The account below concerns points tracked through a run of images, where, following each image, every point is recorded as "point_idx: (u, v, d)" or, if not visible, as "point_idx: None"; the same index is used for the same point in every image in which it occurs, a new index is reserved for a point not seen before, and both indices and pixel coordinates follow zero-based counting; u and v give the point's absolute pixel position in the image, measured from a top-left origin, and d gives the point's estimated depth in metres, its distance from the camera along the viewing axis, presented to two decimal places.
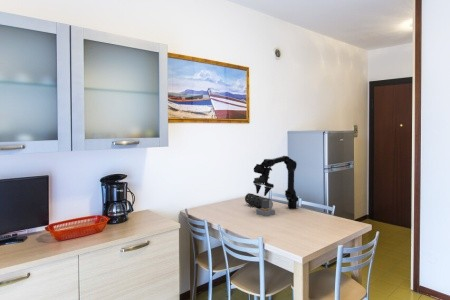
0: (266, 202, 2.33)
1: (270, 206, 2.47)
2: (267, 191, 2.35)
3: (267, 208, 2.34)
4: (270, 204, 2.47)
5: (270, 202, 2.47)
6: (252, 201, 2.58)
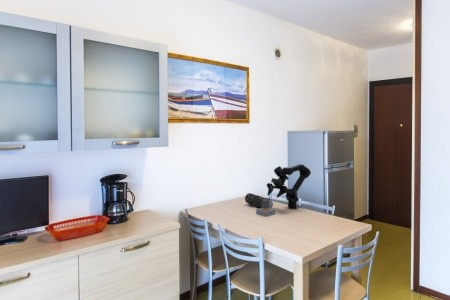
0: (266, 202, 2.33)
1: (270, 206, 2.47)
2: (280, 194, 2.38)
3: (267, 208, 2.34)
4: (270, 204, 2.47)
5: (270, 202, 2.47)
6: (252, 201, 2.59)
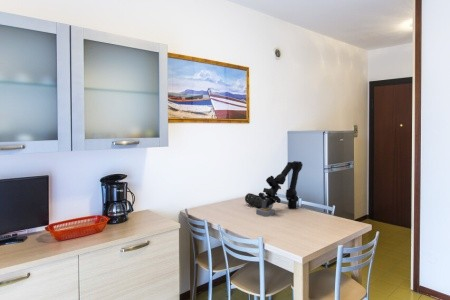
0: (266, 202, 2.33)
1: (270, 206, 2.47)
2: (270, 204, 2.34)
3: (267, 208, 2.34)
4: None
5: None
6: (252, 201, 2.59)
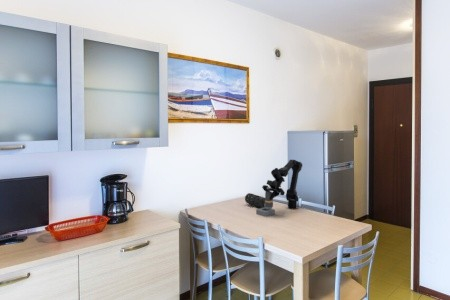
0: (270, 194, 2.30)
1: None
2: (274, 196, 2.31)
3: (271, 200, 2.31)
4: None
5: None
6: (252, 201, 2.59)
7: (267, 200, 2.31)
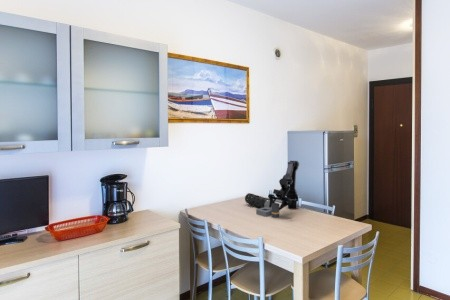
0: (276, 206, 2.26)
1: None
2: (283, 206, 2.25)
3: (277, 212, 2.27)
4: None
5: None
6: (252, 201, 2.58)
7: (273, 212, 2.27)
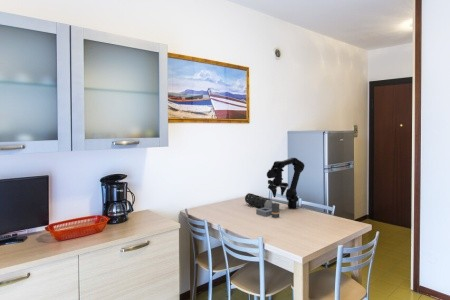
0: (276, 206, 2.26)
1: (270, 206, 2.47)
2: (274, 193, 2.42)
3: (277, 212, 2.27)
4: (270, 204, 2.47)
5: (270, 202, 2.47)
6: (252, 201, 2.58)
7: (273, 212, 2.27)
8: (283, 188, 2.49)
